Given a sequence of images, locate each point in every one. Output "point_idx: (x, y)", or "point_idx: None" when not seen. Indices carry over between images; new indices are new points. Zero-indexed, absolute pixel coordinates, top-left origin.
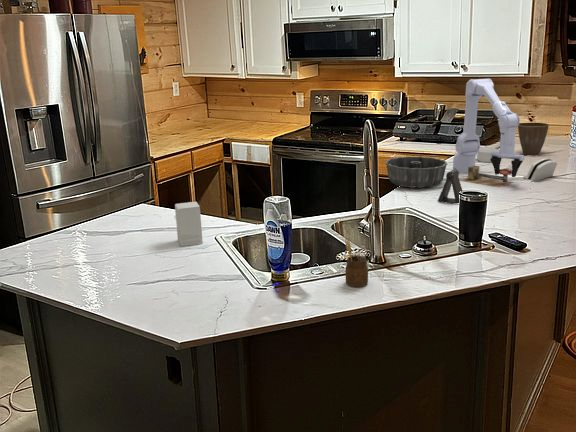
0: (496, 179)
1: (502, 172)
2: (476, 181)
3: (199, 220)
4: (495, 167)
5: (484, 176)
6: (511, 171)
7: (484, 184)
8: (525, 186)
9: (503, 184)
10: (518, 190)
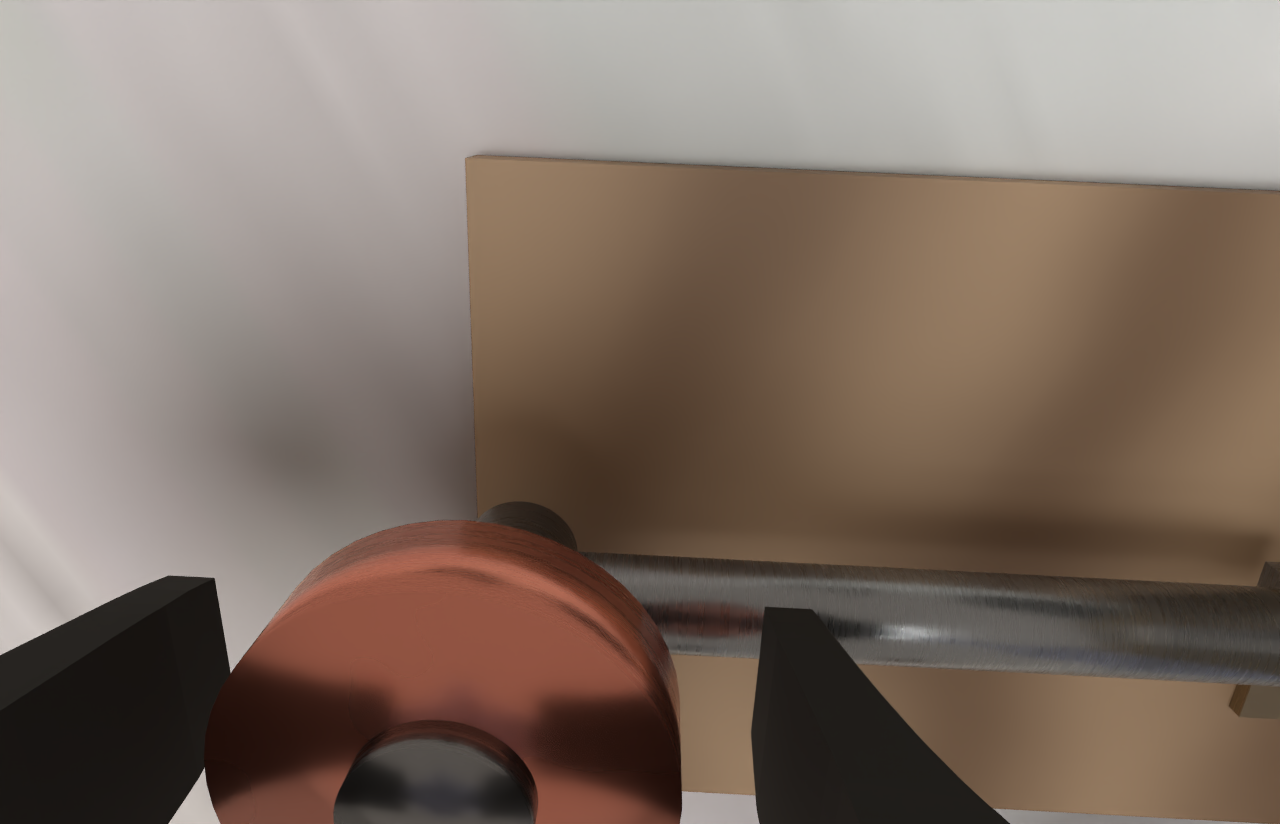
0: None
1: (449, 556)
2: (1256, 395)
3: None
4: (849, 757)
5: (1145, 581)
6: (221, 775)
7: (944, 211)
8: None
9: (547, 486)
10: (87, 315)
